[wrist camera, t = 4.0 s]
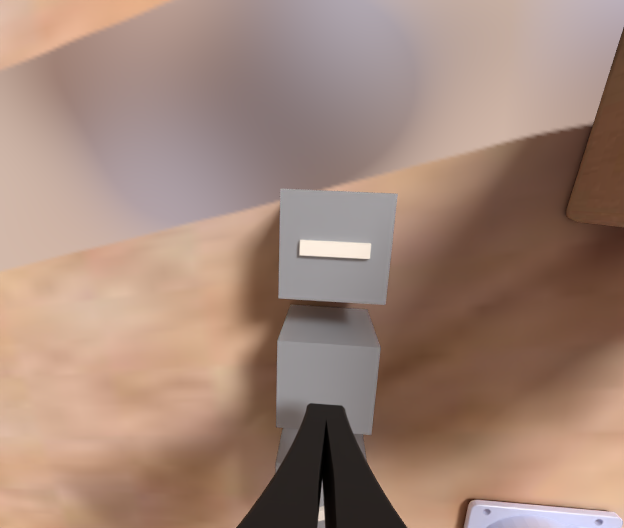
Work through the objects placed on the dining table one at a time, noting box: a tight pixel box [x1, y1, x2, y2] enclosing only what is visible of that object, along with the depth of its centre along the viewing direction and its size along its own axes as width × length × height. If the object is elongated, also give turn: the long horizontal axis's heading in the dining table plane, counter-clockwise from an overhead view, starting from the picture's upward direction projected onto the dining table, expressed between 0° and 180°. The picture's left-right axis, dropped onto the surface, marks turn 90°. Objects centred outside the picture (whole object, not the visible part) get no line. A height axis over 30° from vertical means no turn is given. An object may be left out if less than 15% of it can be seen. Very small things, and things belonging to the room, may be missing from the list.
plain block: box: [276, 305, 381, 435], centre depth 15 cm, size 4×4×4 cm
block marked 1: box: [278, 189, 398, 305], centre depth 14 cm, size 4×4×5 cm
